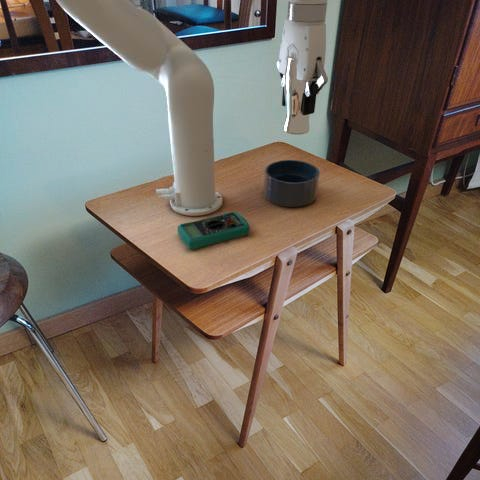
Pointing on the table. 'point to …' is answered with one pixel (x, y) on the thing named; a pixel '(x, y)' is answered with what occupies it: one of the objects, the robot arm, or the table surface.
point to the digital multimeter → (213, 230)
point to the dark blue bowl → (291, 183)
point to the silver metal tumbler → (294, 100)
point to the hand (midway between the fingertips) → (297, 108)
